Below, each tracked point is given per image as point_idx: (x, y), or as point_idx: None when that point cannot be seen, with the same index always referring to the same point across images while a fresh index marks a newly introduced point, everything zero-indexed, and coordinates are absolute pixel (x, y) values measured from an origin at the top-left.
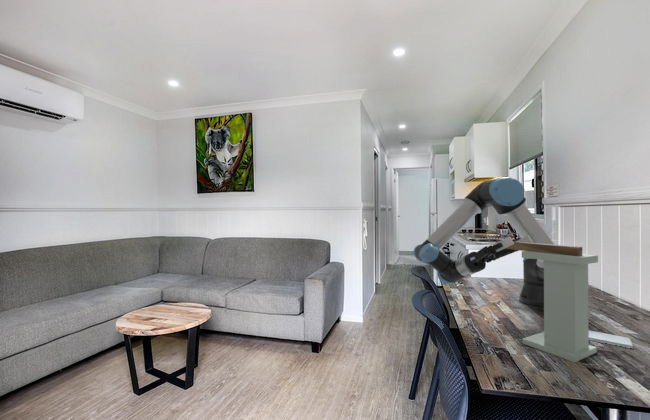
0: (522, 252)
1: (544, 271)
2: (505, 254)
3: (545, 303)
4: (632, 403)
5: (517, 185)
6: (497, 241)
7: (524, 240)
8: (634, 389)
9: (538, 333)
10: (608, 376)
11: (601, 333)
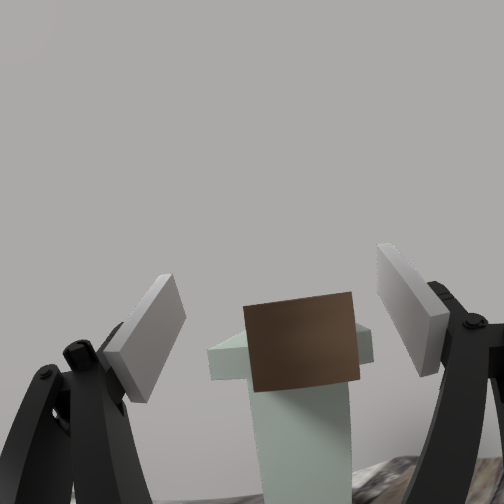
0: (370, 335)
1: (348, 390)
2: (67, 489)
3: (351, 482)
4: (410, 456)
5: None
6: (350, 299)
7: (168, 308)
8: (370, 471)
9: None
10: (363, 490)
11: None
